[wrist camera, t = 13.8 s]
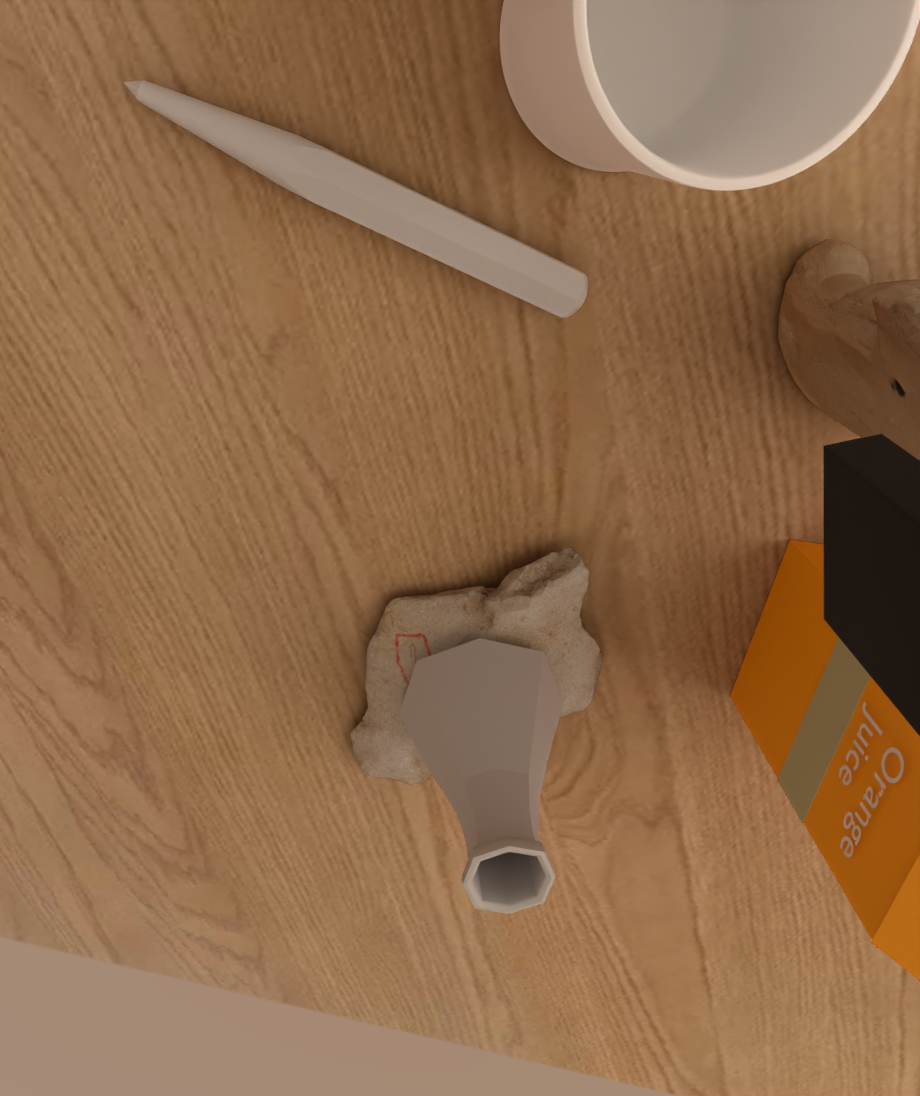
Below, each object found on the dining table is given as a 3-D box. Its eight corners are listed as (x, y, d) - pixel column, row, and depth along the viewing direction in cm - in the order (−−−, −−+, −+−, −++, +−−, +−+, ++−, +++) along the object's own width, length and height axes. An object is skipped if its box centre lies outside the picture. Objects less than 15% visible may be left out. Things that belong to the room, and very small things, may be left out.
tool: (124, 109, 30) (107, 108, 28) (138, 56, 29) (121, 52, 28) (568, 315, 34) (578, 327, 32) (589, 274, 34) (600, 283, 32)
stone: (574, 533, 39) (587, 563, 36) (628, 716, 43) (643, 755, 41) (293, 623, 40) (286, 658, 37) (376, 792, 44) (375, 835, 42)
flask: (560, 762, 41) (609, 945, 32) (404, 773, 40) (409, 963, 31) (564, 629, 37) (619, 791, 28) (394, 640, 37) (396, 809, 28)
